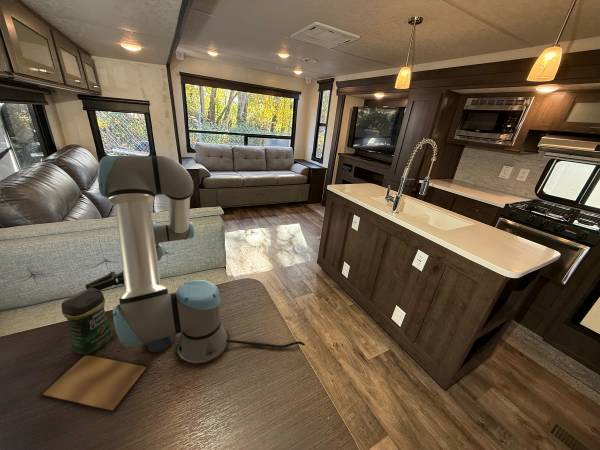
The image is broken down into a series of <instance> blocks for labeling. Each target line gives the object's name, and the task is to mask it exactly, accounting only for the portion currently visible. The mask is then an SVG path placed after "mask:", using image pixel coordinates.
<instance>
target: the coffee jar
mask: <svg viewBox="0 0 600 450" xmlns="http://www.w3.org/2000/svg"><path fill="white" fill-rule="evenodd" d="M105 303H106V297H105V296H104V293H103V291H102V290H98V289H94V288H89V289H87V290H86V289H85V290H83V291H80V292H78V293H76V294H74V295H72V296H70V297H69V298H66V299H65V300H64V301H62V303H61V307H60V308H61V314H62V315H63V317H64V318H65V319H66V320H67V324H68V329H69V334H70V344H71V349H72V352H74V353H76V354H78V355H83V356H85V355H91V354H93V353H95V352H96V351H98V350H99V349H101V347H103V346H104V345H106V344H107V343H108V342H109V341H110V340H111V339H112V337H113V330H112V327H111V325H110V323H109V320H108V318H107V315H106V310H105Z"/></svg>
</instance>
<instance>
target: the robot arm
mask: <svg viewBox="0 0 600 450" xmlns="http://www.w3.org/2000/svg"><path fill="white" fill-rule="evenodd" d="M97 183H98V191H99V193H100V196H102V197H105V198H107V202H108V203H109V204H110V205H112V206H113V207H114V208H115V215H116V225H117V232H118V241H119V251H120V258H121V265H122V266H121V268H122V271H121V272H119V273H116V272H115V271H110V272H109V273H108V274H106V275H103V276H102V277H99V278H98V279H95V280H93V281H91V282H88V283H86V284H85V290H87V289H89V288H94V289H98V290H100V291H102V290H105V289H108V288H110V287H113V286H119V285H124V291H123V293H122V294H121V296H119V298H118V300H119V304H117V305H115V306H114V307H113V309H112V316H113V318H112V319H113V324H114V325H113V326H114V328H115V332H116V335H117V337H118V339H119V341H120V343H121V344H122V345H123V346H124V347H126V348H133V347H136V346H137V347H138V346H141V345H147V344H146V343H148V342H151V341H154V340H158V339H161V338H164V337H168V336H171V335H173V336H174V335H177V334H180V336H179V339H178V342H177V353H178V357H179V359H180V360H181V361H182V362H183V363H184V364H186V365H190V366H203V365H206V364H209V363H211V362H213V361H215V360H216V359H218V358H219V357H220V356H221V355H222V354H223V353H224V352H225V350H226V349H227V346H228V343H233V344H240V345H241V344H242V345H250V346H259V347H269V348H276V349H284V348H289V347H292V346H295V345H301V346H305V345H306V344H305V343H304V342H302V341H300V340H299V341H296V340H295V341H292V342H290V343H285V344H274V343H273V344H272V343H263V342H255V341H254V342H253V341H246V340H237V339H230V338H229V339H228V333H227V330H226V329H225V327H224V326H223V323H222V320H221V319H222V317H221V297H220V290H219V288H218V287H217V286H216V285H215V284H214V283H213V282H211V281H208V280H205V279H193V280H188V281H185V282H183V284H179V286H178V287H177V290H176V291H175V292H172V293H169V289H168V287H167V286H166V285H164V284H162V281H161V276H160V275H161V274H160V267H159V261H161V259H162V257H163V256H164V255H165V248H164V247H163V245H162V244H161V243H169V242H175V241H183V240H184V241H186V240H190V239H193V238H194V237H195V229H194V228H195V227H194V224H193V222H191V221H190V218H191V217H190V215H191V213H190V211H191V197H192V196H193V193H194V180H193V179H192V176H191V174H190V173H189V171H188V170H187V169H186V168H185V167H184V166H183V165H182V164H181V163H179V161H177V160H175V159H173V158H170V157H168V156H164V155H122V154H117V155H105V156H103V157H102V158H101V159H100V161H99V162H98V167H97ZM162 194H164V195H165V197H166V200H167V210H168V220H169V224H160V225H157V224H156V222H155V221H153V216H152V215H153V214H152V209H151V205H152V204H153V203H154V202H155V201H156V197H155V195H162Z"/></svg>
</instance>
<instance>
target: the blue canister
mask: <svg viewBox="0 0 600 450" xmlns="http://www.w3.org/2000/svg"><path fill="white" fill-rule="evenodd" d="M173 341H174V335H171V336H168V337H164V338H161V339H158V340H154V341H151V342H148V343H146V344H145V345H146V348H147V350H148V351H150V352H152V353H159V352H162V351H165V350H166V349H168V348H169V347H170V346H171V345H172V344H173Z"/></svg>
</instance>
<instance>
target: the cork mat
mask: <svg viewBox="0 0 600 450" xmlns="http://www.w3.org/2000/svg"><path fill="white" fill-rule="evenodd" d="M147 368H148V367H147V366H143V365H139V364H133V363H128V362H125V361H119V360H114V359H108V358H104V357H99V356H93V355H91V354H86V355H83V356H82V357H81V358H80V359H79V360H78V361H77V362H76V363H75V364H74V365H72V366H71V368H69V369H68V370H66V372H65V373H63V375H62V376H60V377H59V378H58V379H57V380H56V381H55V382H54V383H53V384H52V385H51V386H50V387H49V388H47V389H46V390H45V391H44V392H43V393H42V396H45V397H49V398H53V399H58V400H62V401H65V402H71V403H75V404H80V405H84V406H88V407H93V408H98V409H102V410H106V411H111V412H113V411H115V409H116V408H117V407H118V406H119V404H120V403H121V402H122V400H123V399H124V398H125V397H126V395H127V394H128V393H129V391H130V390H131V389H132V388H133V386H134V385H135V384H136V383H137V382H138V380H139V379H140V377H141V376H142V375H143V374H144V372H145V371H146V370H147Z"/></svg>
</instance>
